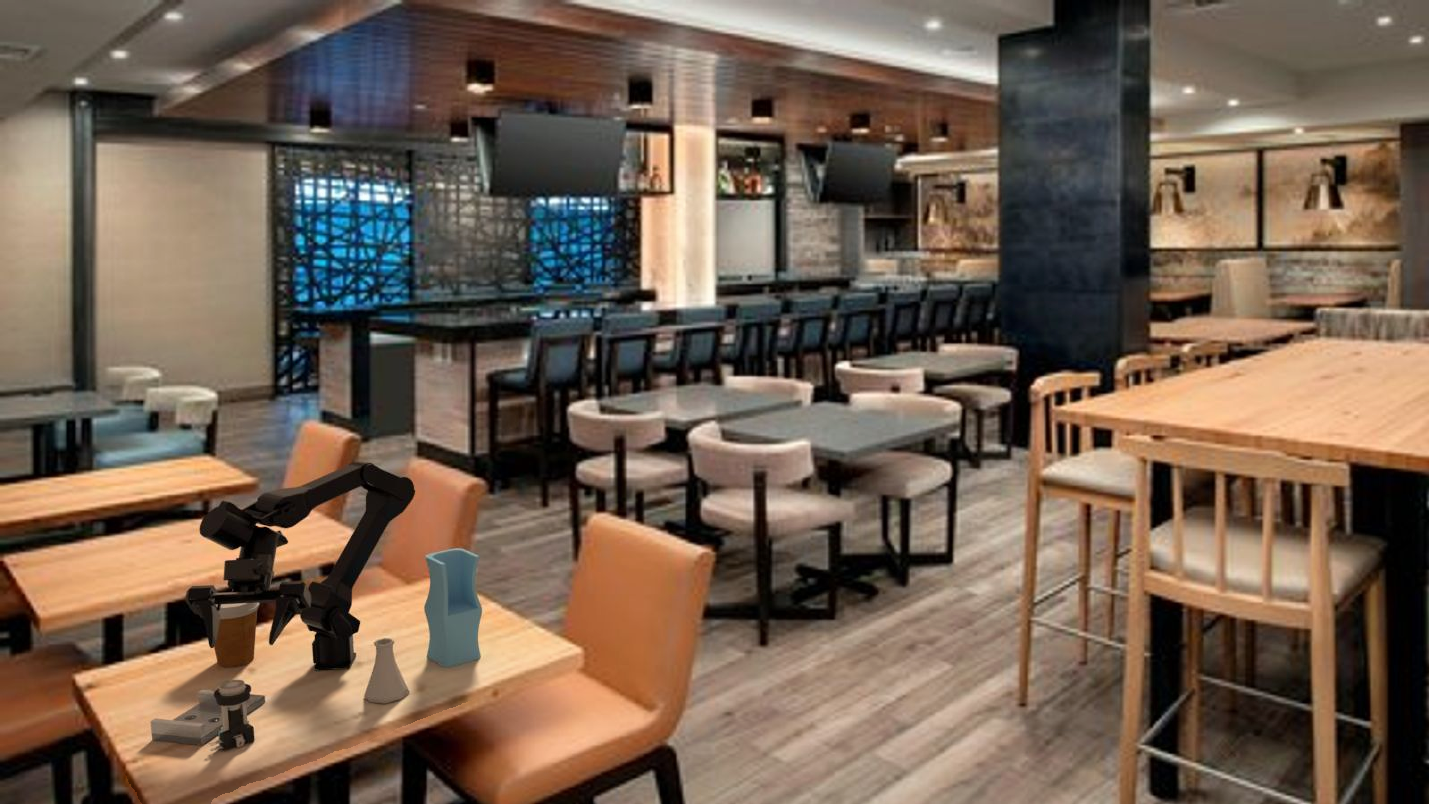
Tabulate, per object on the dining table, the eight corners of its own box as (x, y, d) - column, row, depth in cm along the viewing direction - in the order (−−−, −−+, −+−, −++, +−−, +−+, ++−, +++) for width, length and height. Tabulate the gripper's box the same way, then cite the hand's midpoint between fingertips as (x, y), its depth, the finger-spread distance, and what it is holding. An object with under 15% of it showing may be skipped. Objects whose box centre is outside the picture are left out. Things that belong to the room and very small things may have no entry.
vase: (445, 668, 193) (441, 564, 190) (426, 656, 199) (421, 555, 196) (483, 657, 198) (480, 556, 195) (463, 645, 204) (459, 547, 201)
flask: (384, 708, 177) (381, 652, 175) (356, 698, 180) (353, 643, 179) (417, 693, 183) (414, 638, 181) (389, 684, 186) (386, 630, 185)
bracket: (219, 697, 181) (218, 680, 180) (265, 702, 179) (264, 684, 179) (152, 740, 165) (150, 721, 165) (201, 745, 164) (200, 726, 163)
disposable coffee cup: (209, 655, 199) (204, 595, 198) (263, 648, 203) (259, 589, 201) (206, 674, 191) (201, 611, 189) (263, 666, 194) (258, 604, 193)
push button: (218, 759, 159) (213, 697, 158) (203, 748, 163) (198, 687, 161) (261, 743, 164) (256, 683, 163) (245, 733, 168) (241, 674, 166)
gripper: (184, 539, 171) (163, 628, 161) (302, 534, 173) (289, 621, 164) (204, 570, 180) (186, 656, 170) (316, 566, 182) (305, 650, 173)
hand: (241, 645), depth 169 cm, fingers open, 9 cm apart
